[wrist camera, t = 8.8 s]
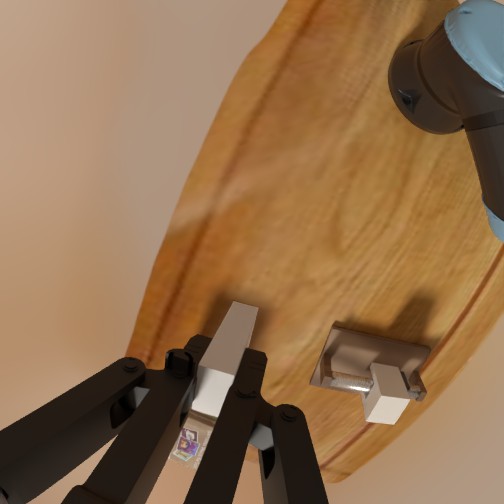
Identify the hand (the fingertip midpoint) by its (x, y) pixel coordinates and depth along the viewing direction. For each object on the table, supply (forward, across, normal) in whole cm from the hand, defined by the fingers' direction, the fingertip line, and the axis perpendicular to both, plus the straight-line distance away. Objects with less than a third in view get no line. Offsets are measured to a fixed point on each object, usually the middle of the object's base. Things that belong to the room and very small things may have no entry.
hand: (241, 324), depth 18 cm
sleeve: (+26, +22, -19) cm, 39 cm away
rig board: (+29, +21, -19) cm, 41 cm away
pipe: (+25, +21, -19) cm, 38 cm away
